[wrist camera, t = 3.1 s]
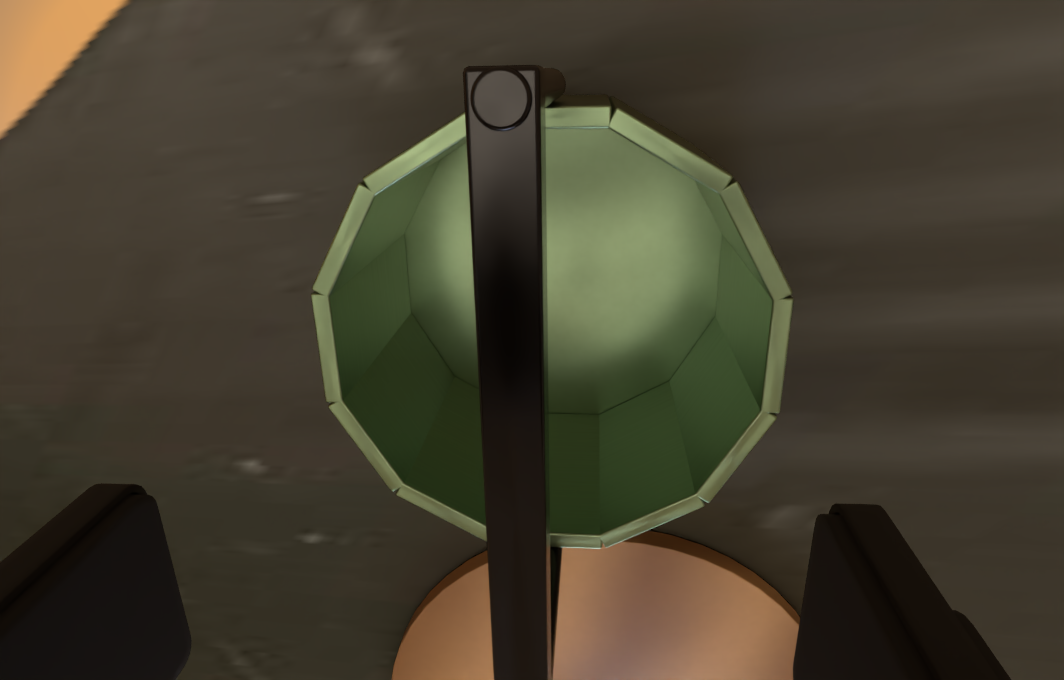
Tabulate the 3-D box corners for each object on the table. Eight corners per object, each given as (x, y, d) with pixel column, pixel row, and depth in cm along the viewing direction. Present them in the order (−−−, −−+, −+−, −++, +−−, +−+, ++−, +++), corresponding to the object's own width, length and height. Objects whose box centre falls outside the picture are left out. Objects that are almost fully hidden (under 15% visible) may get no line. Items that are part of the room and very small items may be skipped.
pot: (748, 64, 22) (1004, 55, 8) (715, 439, 27) (840, 833, 13) (381, 72, 23) (53, 75, 9) (413, 431, 28) (231, 786, 14)
